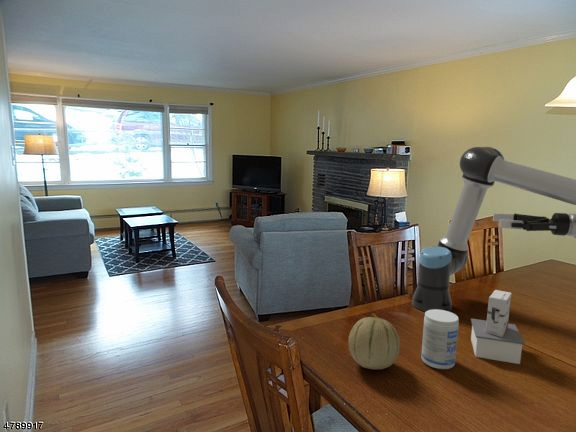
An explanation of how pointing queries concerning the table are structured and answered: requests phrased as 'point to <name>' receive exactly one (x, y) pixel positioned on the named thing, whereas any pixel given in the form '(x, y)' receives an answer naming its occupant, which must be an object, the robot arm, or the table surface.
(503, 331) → the ink box
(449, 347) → the supplement tub
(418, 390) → the table surface
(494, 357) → the podium
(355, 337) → the cantaloupe
